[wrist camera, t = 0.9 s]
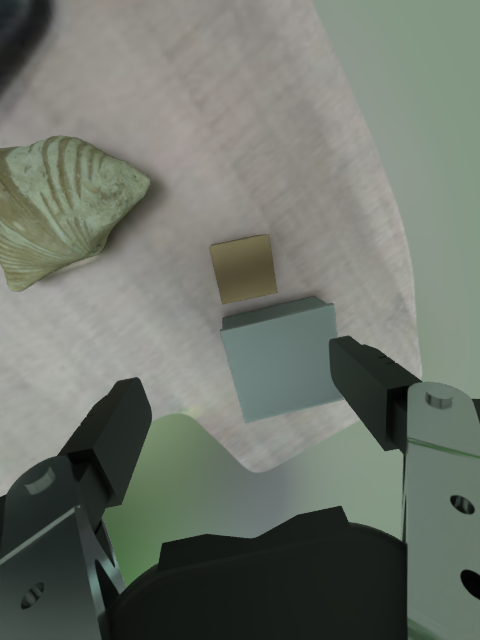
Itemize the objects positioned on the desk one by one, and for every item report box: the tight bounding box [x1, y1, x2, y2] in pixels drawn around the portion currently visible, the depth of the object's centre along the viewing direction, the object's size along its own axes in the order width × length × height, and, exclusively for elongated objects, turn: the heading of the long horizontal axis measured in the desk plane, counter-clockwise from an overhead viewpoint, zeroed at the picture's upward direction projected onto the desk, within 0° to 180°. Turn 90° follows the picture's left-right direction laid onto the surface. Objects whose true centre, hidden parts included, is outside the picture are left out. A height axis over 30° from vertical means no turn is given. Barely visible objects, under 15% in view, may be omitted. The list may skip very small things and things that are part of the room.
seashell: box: [0, 136, 150, 292], centre depth 21 cm, size 14×9×10 cm
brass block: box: [209, 234, 277, 304], centre depth 24 cm, size 5×5×6 cm
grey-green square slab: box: [220, 296, 344, 423], centre depth 28 cm, size 11×11×5 cm
